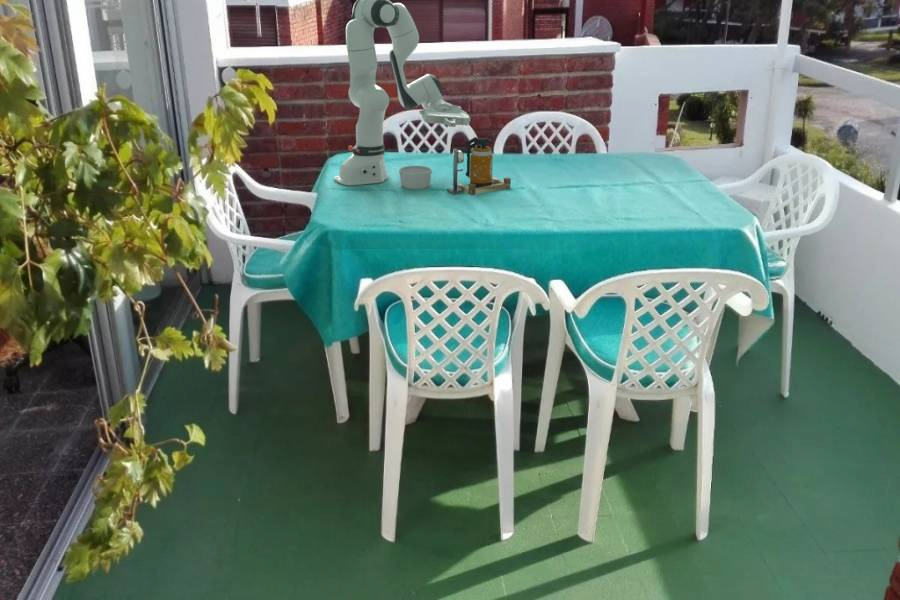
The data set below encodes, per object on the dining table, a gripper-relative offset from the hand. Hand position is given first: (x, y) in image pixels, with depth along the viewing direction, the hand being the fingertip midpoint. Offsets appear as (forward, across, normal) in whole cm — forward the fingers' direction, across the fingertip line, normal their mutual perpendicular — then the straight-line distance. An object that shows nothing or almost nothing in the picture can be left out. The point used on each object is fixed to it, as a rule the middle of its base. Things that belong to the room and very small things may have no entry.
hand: (452, 125), depth 343 cm
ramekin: (+10, -15, +24) cm, 30 cm away
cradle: (+21, +9, +18) cm, 29 cm away
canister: (+19, +8, +18) cm, 27 cm away
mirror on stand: (+23, -4, +19) cm, 30 cm away
